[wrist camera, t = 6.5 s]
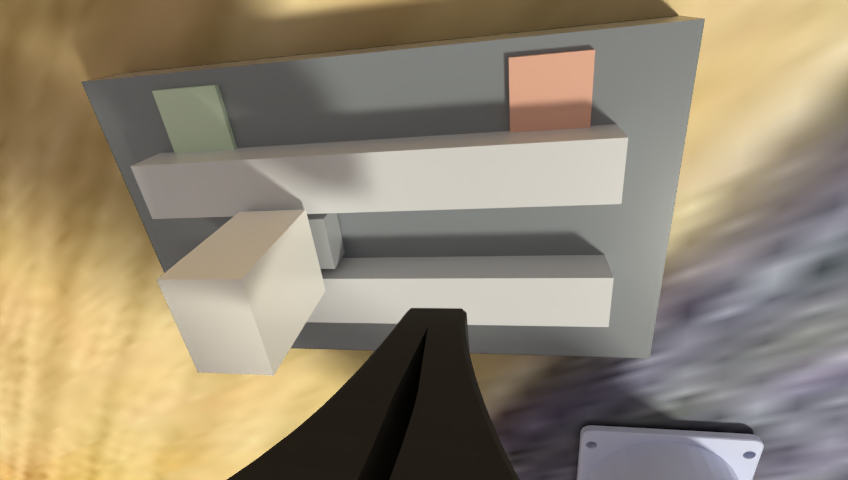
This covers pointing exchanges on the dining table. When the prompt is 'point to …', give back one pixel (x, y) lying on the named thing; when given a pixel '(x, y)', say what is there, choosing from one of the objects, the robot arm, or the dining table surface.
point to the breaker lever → (251, 288)
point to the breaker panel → (442, 106)
